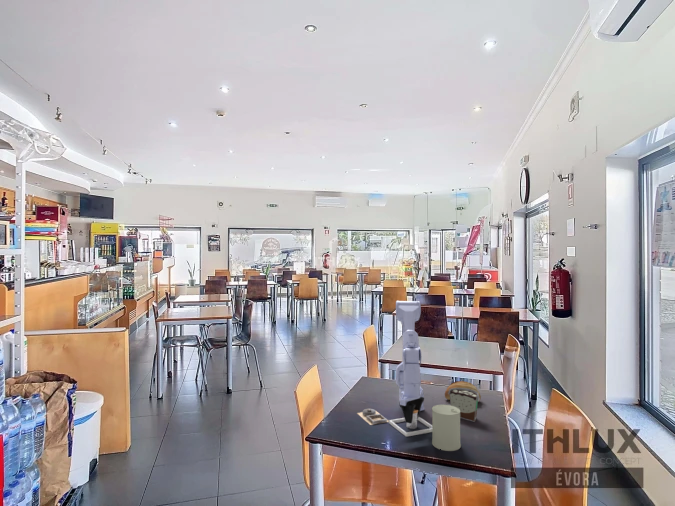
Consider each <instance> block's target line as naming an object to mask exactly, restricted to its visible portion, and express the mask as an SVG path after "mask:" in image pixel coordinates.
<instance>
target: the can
mask: <svg viewBox="0 0 675 506" xmlns="http://www.w3.org/2000/svg"><path fill="white" fill-rule="evenodd" d="M431 417H432V423H431V425H432V432H431V434H432V436H431V444H432V446H433V447H434V448H436V449H437V450H440V449H441V450H440V451H443V452H444V451H445V452H455V451H459V449H460V448H461V447H462V444H461V418H460V409H459V408H457V407H455V406H451V404H436V405H433V406H432V407H431Z"/></svg>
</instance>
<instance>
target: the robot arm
mask: <svg viewBox="0 0 675 506" xmlns="http://www.w3.org/2000/svg"><path fill="white" fill-rule="evenodd" d="M421 306H422V305H421V302H420V301H419V300H415V301H414V300H396V301H395V317H396V320H397V321H398V322H400V323H401V325H402V330H401V331H402V351H401V355H402V356H401V357H402V361H401V362H400V363H399V364H398V365H397V366H396V368H395V369H396V372H395V384H396V386H397V387H398V388H399V389H398V392H399V393H398V395H399V396H398V398H399V400H398V401H399V402H398V403H399V405H398V406H400V408H401V411H402V414H403V418H405V421H404V422H405V423H406V424H407V423H412V419H413V411H414V408H416V409H418V415H417V419H418V417H420V412H421V411H425V405H424V403H425V397H424V396H425V395H424V393H425V392H424V388H422V386H421V384H422V378H421V377H422V376H421V364H422V349H421V346H420V342H419V334H418V332H416V331H415V327H416V326H415V323H416V322H417V321H419V320H420V318H421V312H422V309H421Z"/></svg>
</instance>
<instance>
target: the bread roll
mask: <svg viewBox="0 0 675 506" xmlns="http://www.w3.org/2000/svg"><path fill="white" fill-rule="evenodd" d="M452 388H467V389H471V390H474V391H476V392H477V393H478V395H479V398H480V401H481V400H482V399H481V398H482V395H481V393H480V392H479V389H478V388H477V386H475V385H474V383H471V382H469V381H465V380H461V381H460V380H456V381H453V382H451V383H450V385H449V386H447V387H446V390H445V392H444V398H445V399H447V400H448V401H450V394H448V392H449V389H452Z"/></svg>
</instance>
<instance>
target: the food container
mask: <svg viewBox="0 0 675 506" xmlns="http://www.w3.org/2000/svg"><path fill="white" fill-rule="evenodd" d="M448 394H450V400H449V403H450V405H451V406H455V407H457V408H459V409H460V419H463V420H466V421H469V422H474V423H476V421H477V413H478V403H479V402H480V401H481V400H480V398H479V395H478V393H477V392H476V391H474V390H471V389H467V388H452V389H449V392H448Z"/></svg>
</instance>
